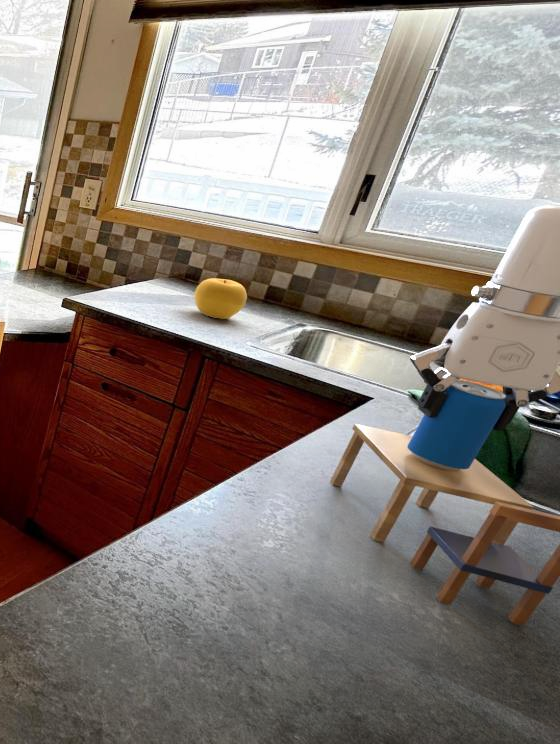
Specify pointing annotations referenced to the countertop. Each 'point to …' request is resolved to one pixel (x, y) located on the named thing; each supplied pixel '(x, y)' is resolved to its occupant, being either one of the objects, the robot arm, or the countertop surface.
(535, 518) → the chair
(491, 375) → the robot arm
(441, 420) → the beverage can
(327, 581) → the countertop surface
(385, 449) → the dining table
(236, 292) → the apple
